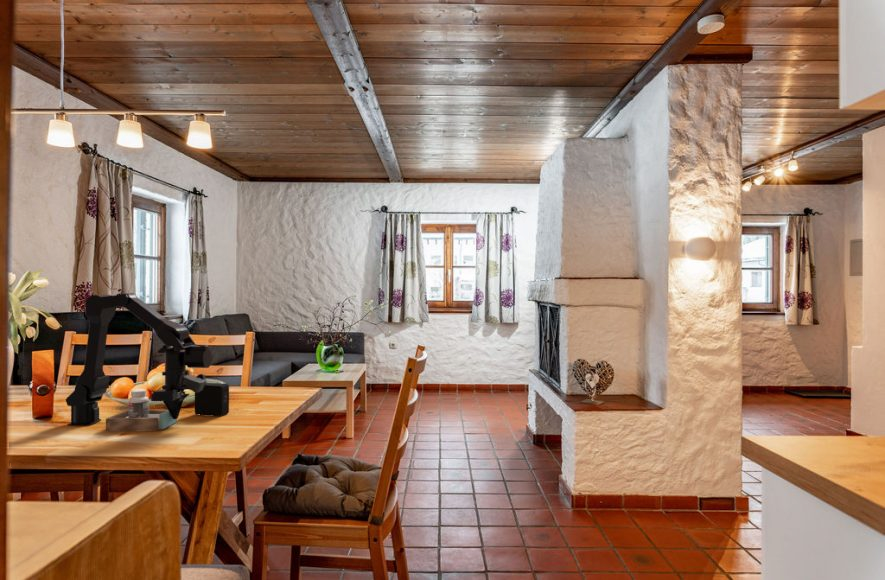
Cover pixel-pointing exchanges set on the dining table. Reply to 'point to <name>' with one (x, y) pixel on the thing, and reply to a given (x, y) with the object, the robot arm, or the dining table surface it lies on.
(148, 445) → the dining table surface
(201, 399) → the electronic device
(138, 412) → the pill bottle
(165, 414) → the tray
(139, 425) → the dock
